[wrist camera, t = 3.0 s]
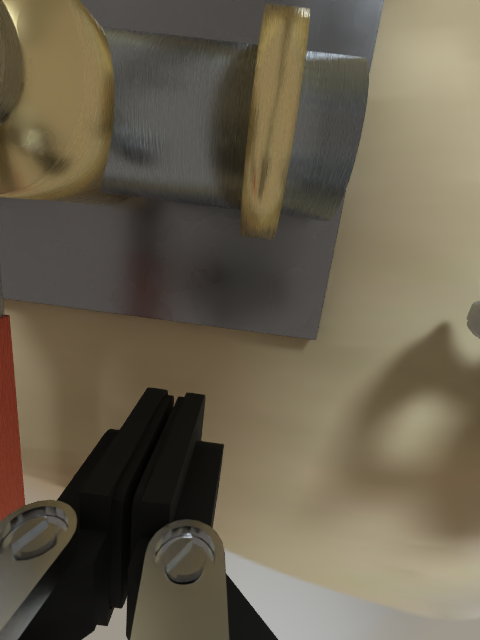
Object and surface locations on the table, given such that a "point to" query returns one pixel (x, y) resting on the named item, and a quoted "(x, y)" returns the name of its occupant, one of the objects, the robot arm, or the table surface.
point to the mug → (474, 319)
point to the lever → (3, 430)
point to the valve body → (183, 156)
